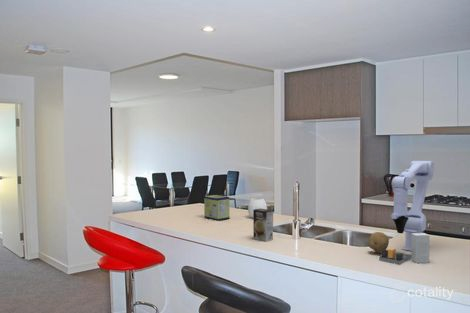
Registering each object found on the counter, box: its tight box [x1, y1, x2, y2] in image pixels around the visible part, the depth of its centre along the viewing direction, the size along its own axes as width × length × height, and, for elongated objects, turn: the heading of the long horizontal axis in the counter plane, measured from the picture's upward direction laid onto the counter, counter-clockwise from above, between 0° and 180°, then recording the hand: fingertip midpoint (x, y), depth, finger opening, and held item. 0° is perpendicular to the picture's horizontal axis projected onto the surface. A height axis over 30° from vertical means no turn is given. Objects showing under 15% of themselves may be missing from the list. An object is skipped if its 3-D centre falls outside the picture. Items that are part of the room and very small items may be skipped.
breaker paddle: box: [387, 247, 397, 258], centre depth 175 cm, size 3×2×4 cm, turn 134°
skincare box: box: [411, 232, 430, 264], centre depth 174 cm, size 6×4×12 cm
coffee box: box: [252, 208, 274, 243], centre depth 217 cm, size 9×6×16 cm
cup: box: [247, 197, 268, 219], centre depth 281 cm, size 13×13×14 cm
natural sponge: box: [367, 231, 390, 255], centre depth 188 cm, size 9×9×10 cm
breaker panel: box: [378, 249, 412, 265], centre depth 178 cm, size 13×9×4 cm
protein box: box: [203, 194, 231, 222], centre depth 279 cm, size 10×16×16 cm
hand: (400, 232), depth 183 cm, fingers closed
